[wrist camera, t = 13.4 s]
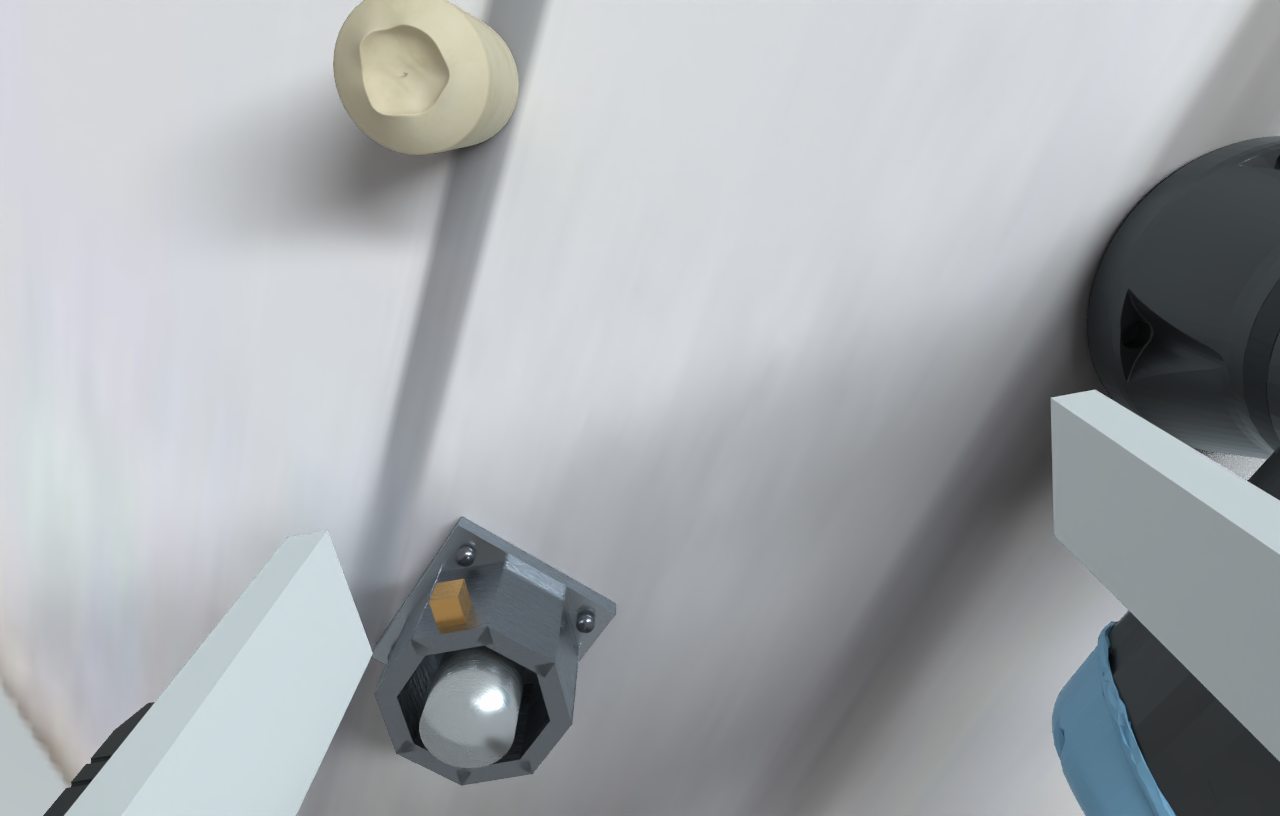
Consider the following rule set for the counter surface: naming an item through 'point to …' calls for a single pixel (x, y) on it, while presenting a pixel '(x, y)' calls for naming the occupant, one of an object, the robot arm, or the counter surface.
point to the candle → (423, 75)
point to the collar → (505, 622)
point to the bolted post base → (485, 655)
